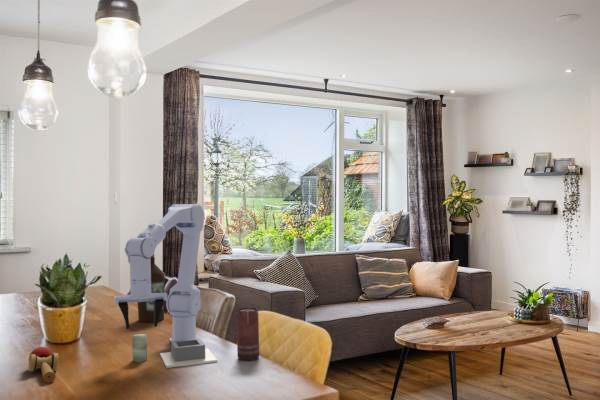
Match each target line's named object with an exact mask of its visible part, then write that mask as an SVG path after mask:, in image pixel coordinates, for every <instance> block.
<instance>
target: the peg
mask: <svg viewBox="0 0 600 400" xmlns="http://www.w3.org/2000/svg"><path fill="white" fill-rule="evenodd" d="M147 336H148V335H147V334H146V333H144V334H143V333H138V334H134V335H132V336H131V339H132V340H131V341H132V344H131V345H132V347H131V348H132V362H133V361H134V362H133V363H143V362H146V361H148V337H147Z"/></svg>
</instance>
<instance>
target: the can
mask: <svg viewBox="0 0 600 400" xmlns="http://www.w3.org/2000/svg"><path fill="white" fill-rule="evenodd" d="M259 322H260V321H259V311H258V309H257V308H255V307H243V308H239V309H238V310H237V312H236V332H237V333H236V336H237V337H236V342H237V343H236V345H237V347H236V348H237V349H236V350H237V359H238V360H240V361H243V362H251V361H256V360H259V357H260V337H259V335H260V329H259V328H260V327H259V326H260V324H259Z"/></svg>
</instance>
